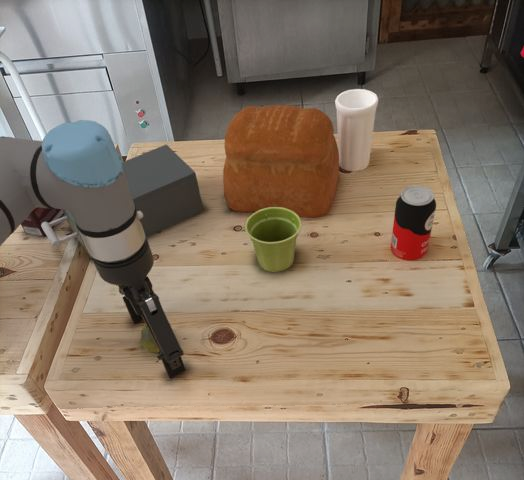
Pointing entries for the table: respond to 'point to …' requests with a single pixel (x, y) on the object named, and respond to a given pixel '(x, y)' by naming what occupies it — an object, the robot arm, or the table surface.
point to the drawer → (57, 242)
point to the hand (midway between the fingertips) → (159, 347)
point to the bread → (281, 160)
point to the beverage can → (413, 222)
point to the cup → (355, 127)
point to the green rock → (148, 340)
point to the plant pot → (274, 236)
